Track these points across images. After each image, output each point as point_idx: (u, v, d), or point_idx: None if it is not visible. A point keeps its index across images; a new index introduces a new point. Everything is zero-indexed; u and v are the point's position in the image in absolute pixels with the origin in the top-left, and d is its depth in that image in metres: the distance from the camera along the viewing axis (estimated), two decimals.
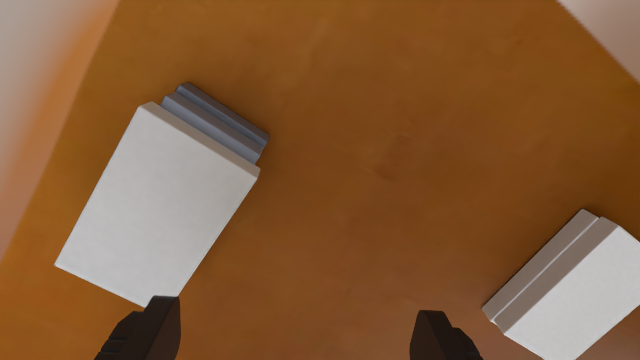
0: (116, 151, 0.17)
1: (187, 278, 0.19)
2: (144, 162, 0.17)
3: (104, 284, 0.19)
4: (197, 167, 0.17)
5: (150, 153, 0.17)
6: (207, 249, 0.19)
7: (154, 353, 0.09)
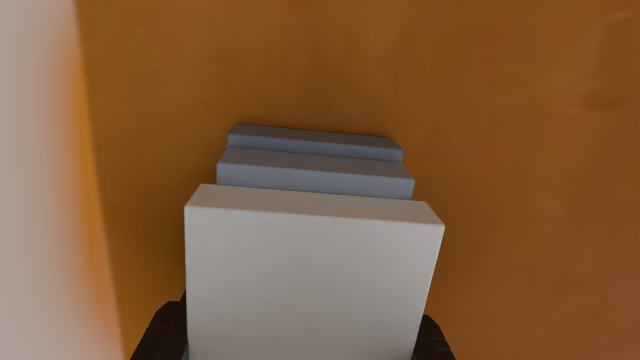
0: (189, 297, 0.09)
1: None
2: (241, 293, 0.09)
3: None
4: (331, 259, 0.09)
5: (243, 273, 0.09)
6: None
7: None
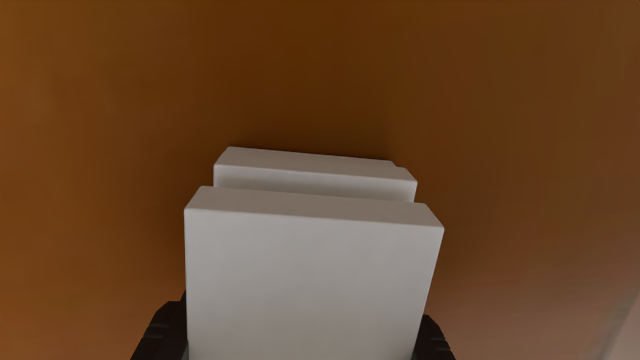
0: (189, 299, 0.09)
1: None
2: (241, 295, 0.09)
3: None
4: (331, 261, 0.09)
5: (243, 275, 0.09)
6: None
7: None
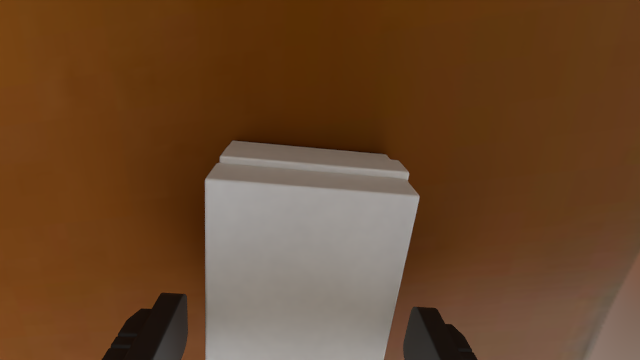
0: (207, 256, 0.11)
1: None
2: (251, 253, 0.11)
3: None
4: (325, 224, 0.11)
5: (252, 236, 0.11)
6: (389, 327, 0.12)
7: (163, 349, 0.10)
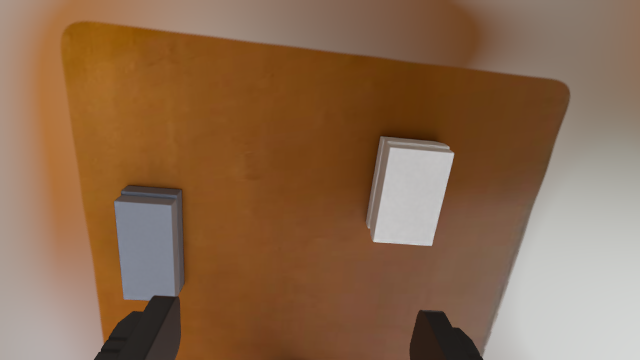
0: (386, 173, 0.34)
1: (437, 219, 0.36)
2: (400, 171, 0.34)
3: (398, 241, 0.36)
4: (424, 162, 0.33)
5: (401, 166, 0.33)
6: (442, 200, 0.35)
7: (154, 353, 0.09)
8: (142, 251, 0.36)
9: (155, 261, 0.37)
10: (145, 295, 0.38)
